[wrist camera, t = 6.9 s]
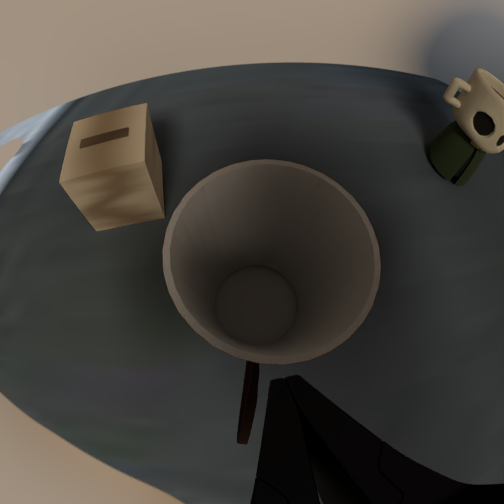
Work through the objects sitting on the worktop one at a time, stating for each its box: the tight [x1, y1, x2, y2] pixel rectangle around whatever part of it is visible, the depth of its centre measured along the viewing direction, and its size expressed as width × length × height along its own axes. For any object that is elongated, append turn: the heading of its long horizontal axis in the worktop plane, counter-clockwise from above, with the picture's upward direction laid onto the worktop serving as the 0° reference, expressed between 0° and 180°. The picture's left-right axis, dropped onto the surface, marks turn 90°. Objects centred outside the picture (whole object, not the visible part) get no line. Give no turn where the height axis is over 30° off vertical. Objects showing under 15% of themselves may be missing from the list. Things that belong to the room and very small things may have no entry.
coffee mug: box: [162, 159, 381, 445], centre depth 15 cm, size 12×9×10 cm
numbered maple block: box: [59, 103, 165, 231], centre depth 20 cm, size 6×6×7 cm
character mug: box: [429, 68, 504, 185], centre depth 22 cm, size 11×7×13 cm, turn 73°
